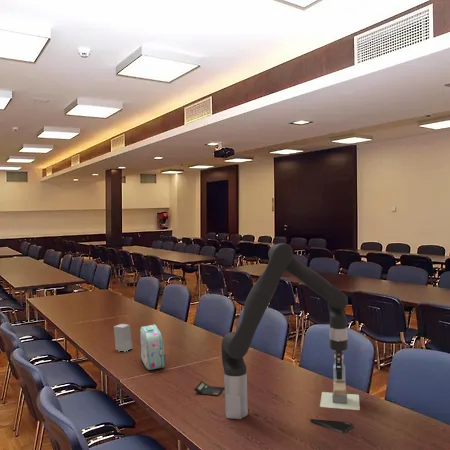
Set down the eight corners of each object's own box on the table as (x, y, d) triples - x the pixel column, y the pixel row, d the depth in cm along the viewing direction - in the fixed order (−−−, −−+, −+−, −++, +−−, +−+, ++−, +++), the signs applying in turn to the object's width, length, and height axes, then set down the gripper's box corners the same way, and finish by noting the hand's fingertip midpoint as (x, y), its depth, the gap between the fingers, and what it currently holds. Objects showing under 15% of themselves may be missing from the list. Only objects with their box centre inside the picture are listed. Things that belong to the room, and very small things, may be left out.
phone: (319, 413, 185) (353, 424, 175) (319, 416, 185) (353, 427, 175) (308, 419, 179) (343, 431, 169) (309, 422, 179) (343, 434, 169)
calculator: (218, 397, 207) (218, 390, 207) (194, 394, 210) (194, 388, 210) (224, 389, 216) (224, 382, 215) (201, 387, 219) (201, 380, 219)
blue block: (345, 380, 193) (345, 368, 193) (333, 379, 194) (333, 367, 194) (345, 376, 198) (345, 364, 198) (333, 375, 199) (333, 364, 199)
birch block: (345, 395, 193) (345, 384, 193) (333, 395, 195) (333, 383, 194) (345, 391, 198) (345, 379, 198) (333, 390, 199) (333, 379, 199)
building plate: (359, 411, 187) (359, 410, 187) (319, 408, 191) (319, 406, 191) (358, 396, 202) (358, 394, 202) (322, 393, 206) (321, 391, 206)
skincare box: (132, 350, 281) (131, 324, 281) (124, 353, 275) (123, 327, 275) (122, 348, 286) (121, 323, 285) (114, 351, 280) (113, 325, 279)
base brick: (347, 404, 193) (347, 396, 193) (332, 402, 194) (332, 395, 194) (347, 398, 199) (347, 391, 198) (333, 397, 200) (332, 390, 200)
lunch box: (167, 371, 242) (166, 330, 241) (148, 373, 238) (146, 333, 238) (157, 356, 267) (155, 320, 266) (139, 359, 263) (138, 322, 263)
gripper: (330, 332, 204) (331, 370, 204) (328, 341, 190) (329, 382, 190) (347, 333, 202) (348, 371, 202) (347, 342, 188) (348, 383, 188)
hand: (339, 376), depth 196 cm, fingers closed on blue block, 5 cm apart
